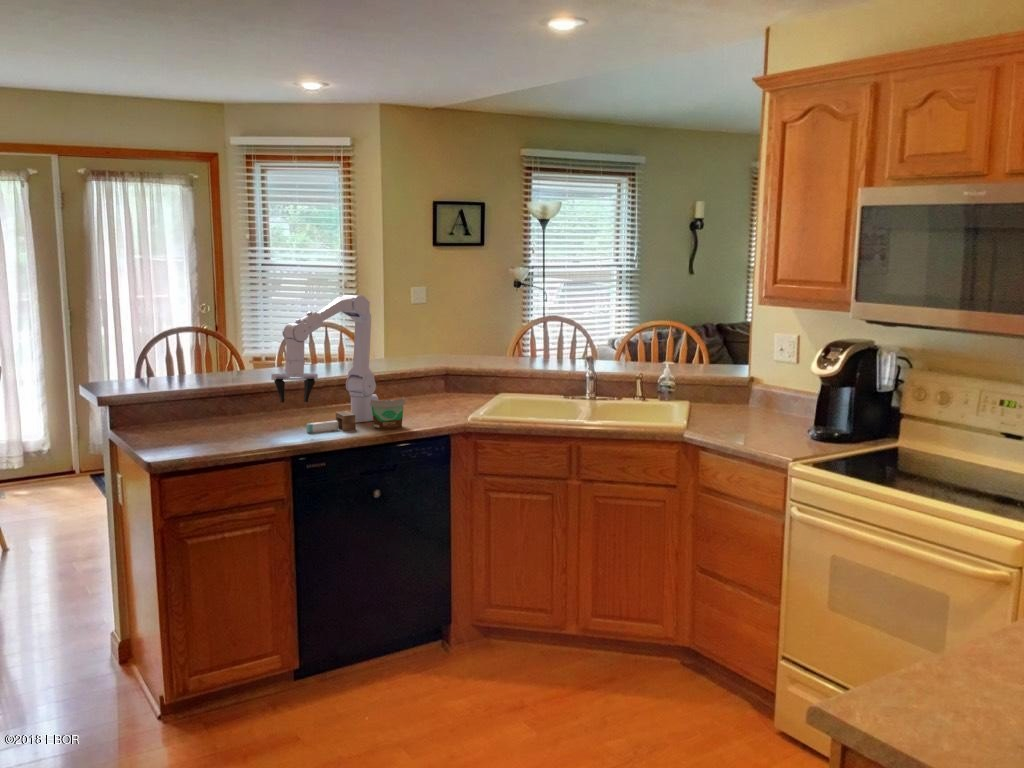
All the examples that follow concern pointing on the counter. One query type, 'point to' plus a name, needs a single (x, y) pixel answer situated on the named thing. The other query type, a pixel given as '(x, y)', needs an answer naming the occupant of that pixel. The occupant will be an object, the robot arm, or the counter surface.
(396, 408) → the food container
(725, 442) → the counter surface
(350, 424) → the angled brown block
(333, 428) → the white teal bar
